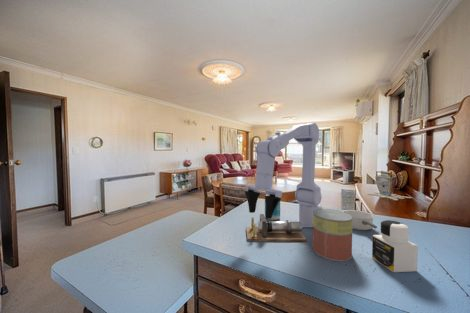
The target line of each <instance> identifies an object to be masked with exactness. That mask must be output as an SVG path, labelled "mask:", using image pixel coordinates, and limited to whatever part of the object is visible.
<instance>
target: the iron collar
mask: <svg viewBox="0 0 470 313" xmlns="http://www.w3.org/2000/svg"><path fill="white" fill-rule="evenodd" d="M259 221H262V237H267V221H268V220H267V218H265V213H260V214H259Z"/></svg>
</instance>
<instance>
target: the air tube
mask: <svg viewBox="0 0 470 313" xmlns="http://www.w3.org/2000/svg"><path fill="white" fill-rule="evenodd" d="M266 221H267V232H287V233H291V232H301V233H302V231H303V227H302V225H301V222H300V221H296V220H294V221H293V220H292V221H291V220H290V219H289V220H288V219H287V220H283V221H282V220H266ZM257 227H258V231H259V232H262V221H260V220H258V222H257Z"/></svg>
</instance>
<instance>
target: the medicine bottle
mask: <svg viewBox="0 0 470 313" xmlns="http://www.w3.org/2000/svg"><path fill="white" fill-rule="evenodd" d="M409 234H410V229H409V227H408V225H406V224H405V223H403V222H400V221H398V220H397V221H396V220H392V219H391V220H390V219H389V220H386V219H385V220H382V221H380V234H373V235H372V245H371V246H372V248H371V251H372V252H371V255H372V256H371V258H372V259H373V260H374V261H376V262H378V263H379V264H380V265H381V266H383V267H385V268H386V269H387V270H389V271H391V273H408V272H409V273H410V272H417V271H418V259H419V258H418V255H419V253H418V252H419V250H418V249H419V247H418V245H417V244H416V243H413V242H412V241H409Z"/></svg>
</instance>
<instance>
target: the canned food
mask: <svg viewBox="0 0 470 313" xmlns="http://www.w3.org/2000/svg"><path fill="white" fill-rule="evenodd" d="M342 211H343V210H342ZM342 211H341V210H335V209H328V208H322V209H318V210H315V211H313V227H312V251H313V252H314V253H316V255H318V256H320V257H321V258H323V259H325V260H329V261H334V262H348V261H351V259H352V258H353V228H352V219H353V217H352V216H351V215H350V214H348V213H345V212H342Z"/></svg>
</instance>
